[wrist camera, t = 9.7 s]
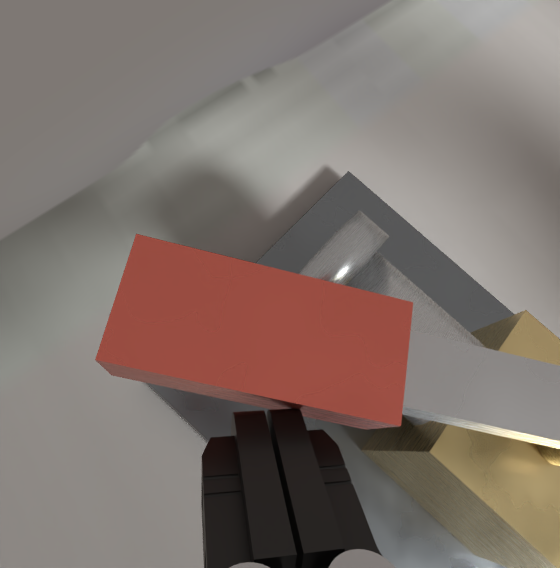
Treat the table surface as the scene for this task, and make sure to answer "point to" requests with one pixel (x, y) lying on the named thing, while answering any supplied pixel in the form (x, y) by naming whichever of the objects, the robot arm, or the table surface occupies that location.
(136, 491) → the table surface
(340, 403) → the valve lever
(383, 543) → the valve body
